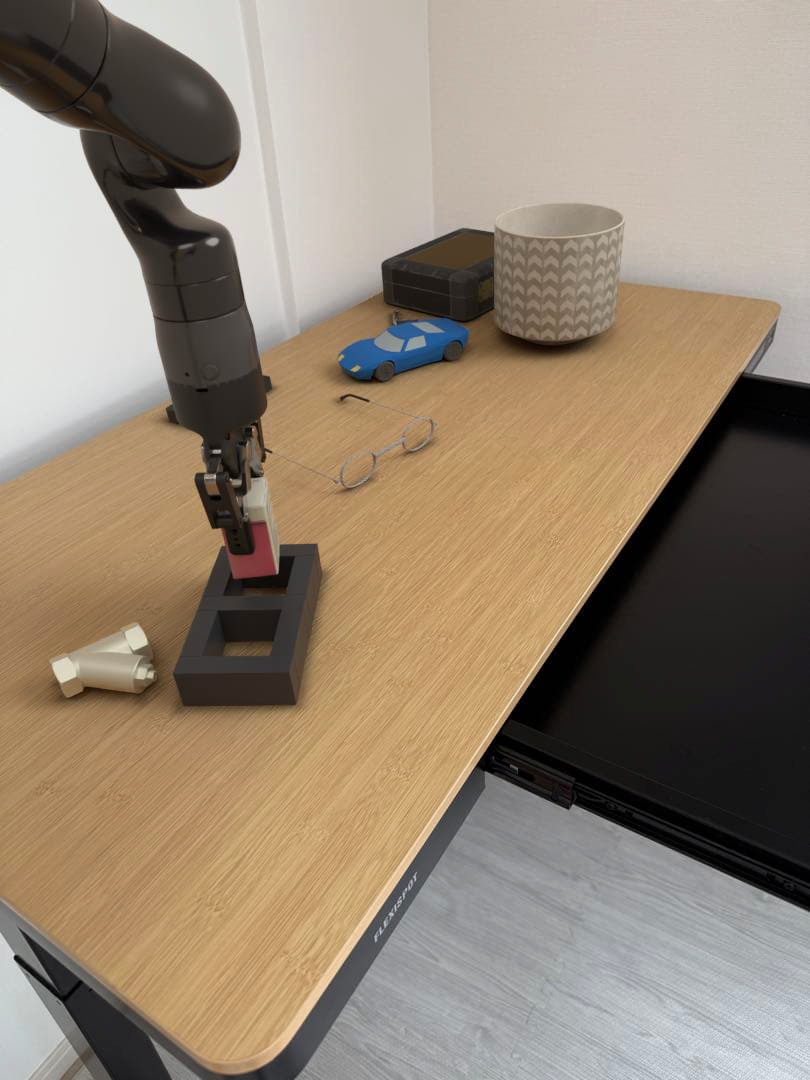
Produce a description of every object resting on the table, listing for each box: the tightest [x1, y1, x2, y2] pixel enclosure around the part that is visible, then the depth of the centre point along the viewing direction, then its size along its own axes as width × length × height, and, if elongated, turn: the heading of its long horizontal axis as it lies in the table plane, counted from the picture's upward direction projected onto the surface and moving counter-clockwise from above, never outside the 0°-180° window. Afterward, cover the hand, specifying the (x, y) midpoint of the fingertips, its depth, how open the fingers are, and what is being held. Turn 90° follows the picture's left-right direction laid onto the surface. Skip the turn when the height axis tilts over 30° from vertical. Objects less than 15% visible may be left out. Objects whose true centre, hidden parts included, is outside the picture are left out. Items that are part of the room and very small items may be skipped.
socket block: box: [172, 542, 323, 707], centre depth 74 cm, size 18×10×4 cm, turn 178°
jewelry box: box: [380, 227, 494, 322], centre depth 145 cm, size 25×20×8 cm
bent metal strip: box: [391, 310, 420, 326], centre depth 137 cm, size 7×1×5 cm
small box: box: [220, 476, 280, 579], centre depth 73 cm, size 5×4×8 cm
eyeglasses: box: [265, 393, 438, 489], centre depth 103 cm, size 18×19×4 cm
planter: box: [493, 201, 626, 347], centre depth 123 cm, size 19×19×18 cm
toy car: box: [336, 317, 470, 383], centre depth 122 cm, size 9×20×5 cm, turn 120°
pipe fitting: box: [48, 621, 159, 698], centre depth 70 cm, size 8×4×7 cm
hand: (250, 532), depth 73 cm, fingers closed on small box, 5 cm apart
